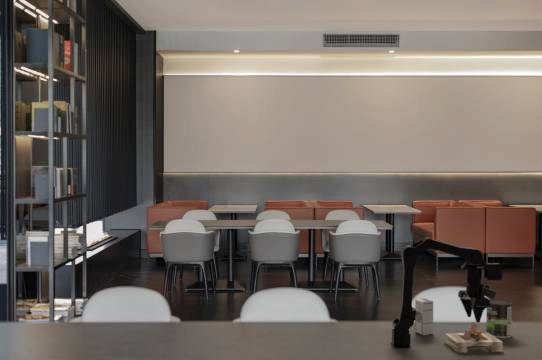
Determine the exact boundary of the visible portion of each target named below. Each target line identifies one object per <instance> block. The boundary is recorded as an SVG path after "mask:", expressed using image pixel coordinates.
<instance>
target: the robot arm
mask: <svg viewBox="0 0 542 360" xmlns="http://www.w3.org/2000/svg"><path fill="white" fill-rule="evenodd" d="M429 249H432V250H435V251H438V252H442V253H445V254H449V255H452V256H456V257H458V258H461V259H463V260H465V261H467V262H469V263H470V264H468V263H467V262H464V264H462V265H461V266H460V268H461V269H463V270H466V271H465V272H466V275H465V276H466V277H465V278H466V279H465V280H466V281H464V285H465V289H460V290H459V291H458V294H457V297H458V298H459V301H460V302H461V304H462V307H463V309H464V311H465V313H466V315H467V317H468V318H471V317H472V313H473V315H474V320H475V323H477V324H478V323H480V322H481V319H482V315H483V313H484V312H485V311H484V310H487V308H488V307H489V306H490V300H495V298H496V295H497V291H495V290H493V289H492V288H491V287H490V286H489V285H486V284H485V283H482V278H484V279H485V281H492V282H493V281H495V282H496V281H499V282H501V281H502V279H503V272H502V266H501V263H499V262H495V263H487V261H486V260H485V259H484V255H483V252H482V251H481V250H479V249H478V248H476V247H469V246H458V245H455V244H451V243H448V242H442V241H440V240H437V239H433V238H431V237H427V236H426V237H424V238H423V239H421V240H418V241H416V242H414V243H413V244H410V245H404V246H403V247H402V248H401V249H400V255H401V256H400V257H401V263H402V269H403V270H402V288H401V289H402V291H401V304H400V306H399V309H398V314H397V317H396V318H395V319H394V320H393V321H392V322H391V323H392V327H393V328H391V341H390V345H392V346H393V347H394V348H411V338H412V337H411V333H410V328H411V327H413V326H414V325H415V321H416V319H415V315H416V310H415V307H413V305H412V303H413V288H414V287H413V283H414V269H415V266H416V263H417V259H418V256H420V255H423V253H425V252H426V251H428V250H429ZM477 265H479V266H477ZM489 298H490V299H489Z"/></svg>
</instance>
